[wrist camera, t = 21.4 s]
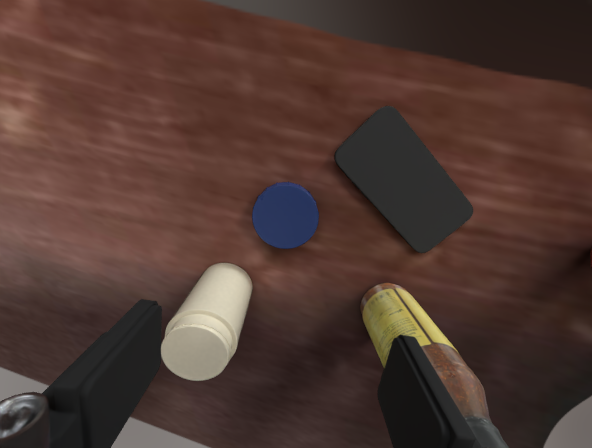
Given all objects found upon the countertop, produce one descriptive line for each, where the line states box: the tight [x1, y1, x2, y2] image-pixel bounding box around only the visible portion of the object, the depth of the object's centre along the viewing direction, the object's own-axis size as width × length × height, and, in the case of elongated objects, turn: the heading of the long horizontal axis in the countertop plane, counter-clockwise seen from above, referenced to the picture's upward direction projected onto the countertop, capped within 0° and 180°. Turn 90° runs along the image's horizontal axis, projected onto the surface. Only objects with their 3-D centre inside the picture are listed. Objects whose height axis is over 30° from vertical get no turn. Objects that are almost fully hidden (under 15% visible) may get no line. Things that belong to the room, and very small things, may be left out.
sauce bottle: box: [361, 283, 509, 448], centre depth 23 cm, size 7×6×20 cm
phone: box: [335, 106, 473, 253], centre depth 28 cm, size 7×1×15 cm
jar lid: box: [252, 182, 319, 249], centre depth 29 cm, size 7×7×2 cm
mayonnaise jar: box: [161, 263, 253, 381], centre depth 27 cm, size 6×6×11 cm
